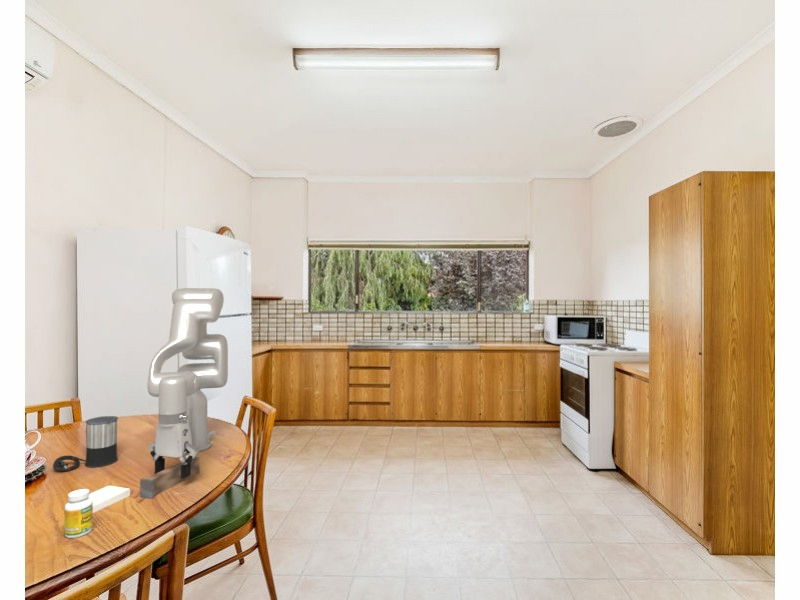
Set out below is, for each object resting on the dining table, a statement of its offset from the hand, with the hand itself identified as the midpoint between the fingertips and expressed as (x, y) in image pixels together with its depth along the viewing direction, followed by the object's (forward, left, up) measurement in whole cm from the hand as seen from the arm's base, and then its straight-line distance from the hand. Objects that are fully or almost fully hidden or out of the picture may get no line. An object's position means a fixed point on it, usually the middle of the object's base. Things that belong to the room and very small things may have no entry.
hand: (172, 474), depth 128 cm
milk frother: (-4, -39, -3) cm, 40 cm away
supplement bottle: (+28, 0, -3) cm, 28 cm away
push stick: (0, 0, -3) cm, 3 cm away
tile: (+9, -10, -2) cm, 14 cm away
